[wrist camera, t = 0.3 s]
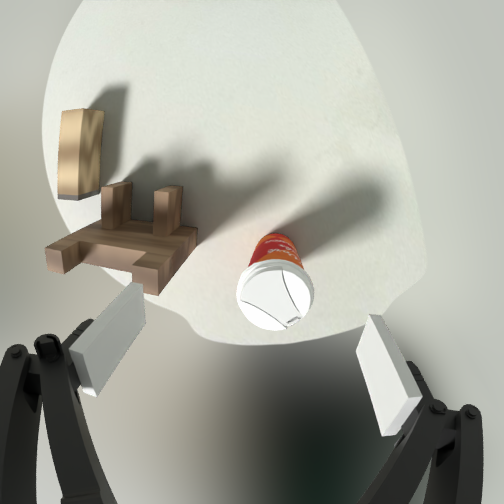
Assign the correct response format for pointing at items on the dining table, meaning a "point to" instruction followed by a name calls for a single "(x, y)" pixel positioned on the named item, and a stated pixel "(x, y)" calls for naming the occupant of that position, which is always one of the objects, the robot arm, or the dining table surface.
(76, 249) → the brown notched piece
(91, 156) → the tan wooden block
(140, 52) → the dining table surface
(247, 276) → the coffee cup
